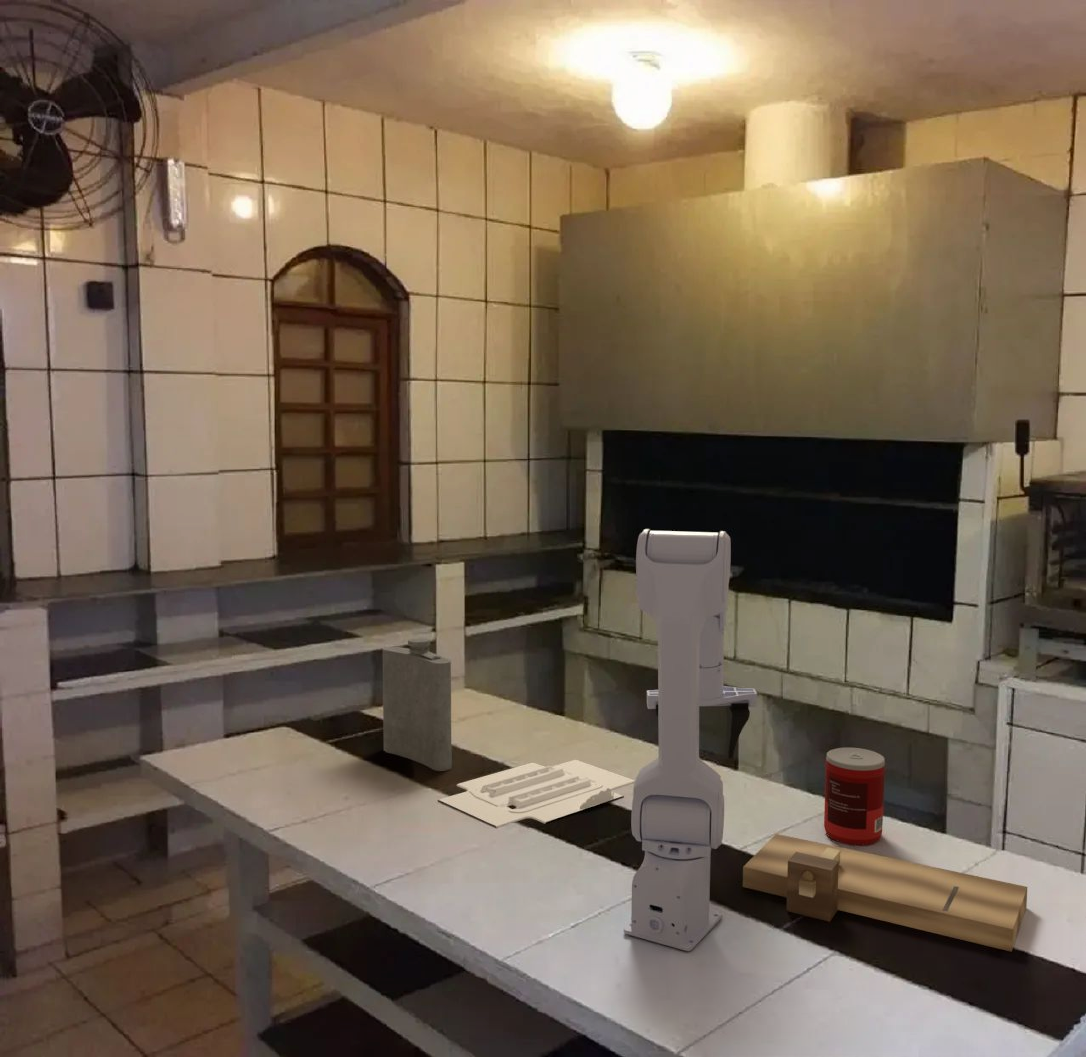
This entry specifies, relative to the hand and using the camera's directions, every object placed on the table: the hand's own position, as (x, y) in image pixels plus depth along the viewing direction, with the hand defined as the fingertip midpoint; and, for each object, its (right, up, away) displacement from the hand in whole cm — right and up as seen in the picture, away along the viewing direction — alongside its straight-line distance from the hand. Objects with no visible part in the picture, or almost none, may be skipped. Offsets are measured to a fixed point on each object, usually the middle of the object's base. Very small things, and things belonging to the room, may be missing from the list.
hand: (700, 755), depth 145 cm
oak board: (+19, -13, -19) cm, 29 cm away
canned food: (+21, -11, 0) cm, 23 cm away
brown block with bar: (+11, -13, -20) cm, 26 cm away
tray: (-22, -10, +16) cm, 29 cm away
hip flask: (-42, -7, +32) cm, 53 cm away
